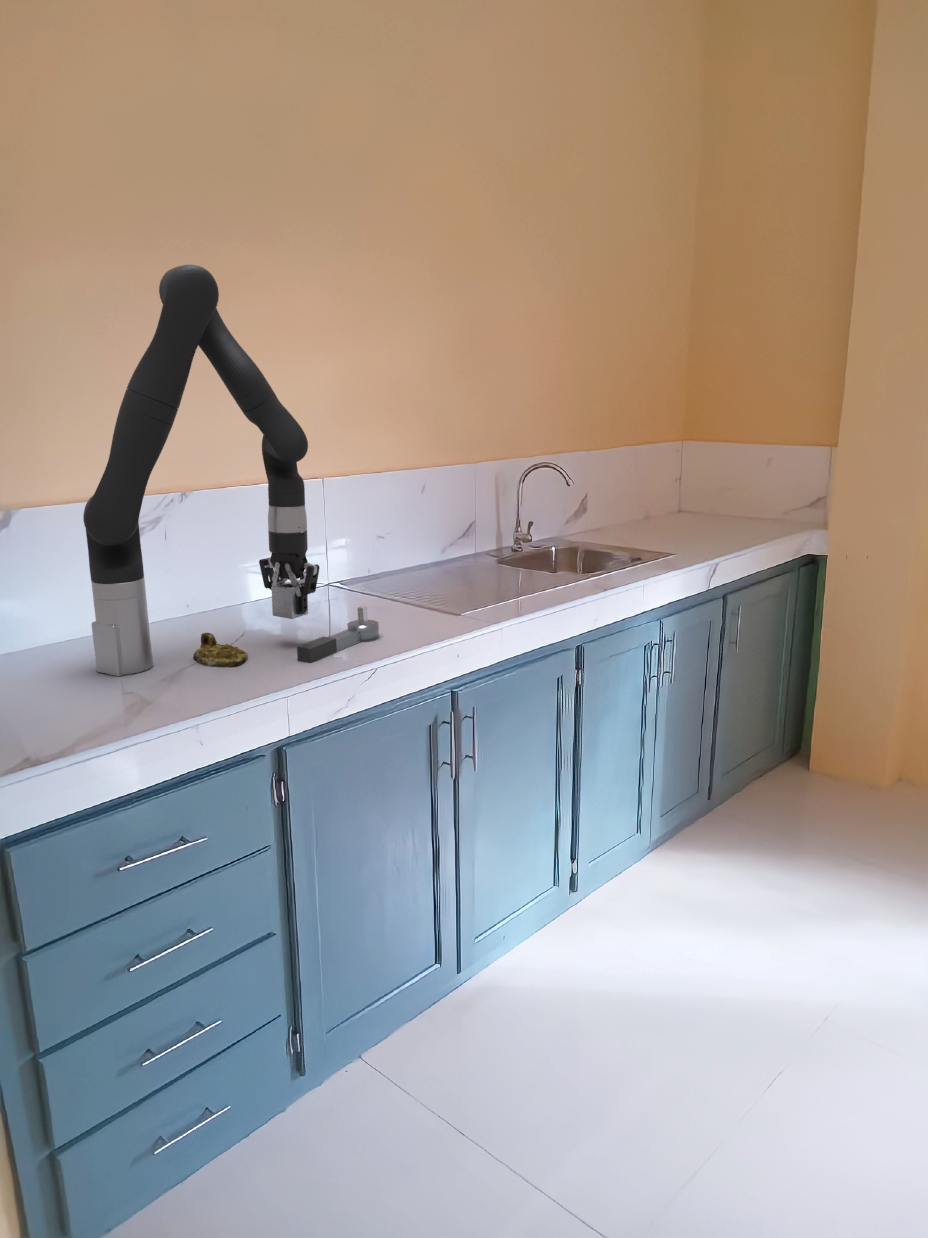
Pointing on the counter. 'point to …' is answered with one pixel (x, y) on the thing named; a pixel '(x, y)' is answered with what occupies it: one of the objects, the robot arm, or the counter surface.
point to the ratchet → (340, 638)
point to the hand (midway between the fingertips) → (290, 611)
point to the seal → (218, 653)
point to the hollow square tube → (285, 601)
